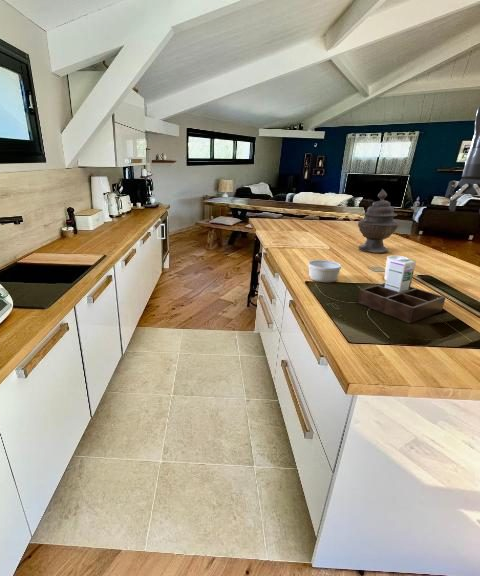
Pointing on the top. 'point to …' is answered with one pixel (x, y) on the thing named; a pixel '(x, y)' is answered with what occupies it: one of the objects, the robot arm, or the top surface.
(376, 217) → the decorative urn
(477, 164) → the robot arm
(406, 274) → the syrup box
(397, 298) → the rack
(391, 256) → the white cup
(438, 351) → the top surface
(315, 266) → the ramekin
